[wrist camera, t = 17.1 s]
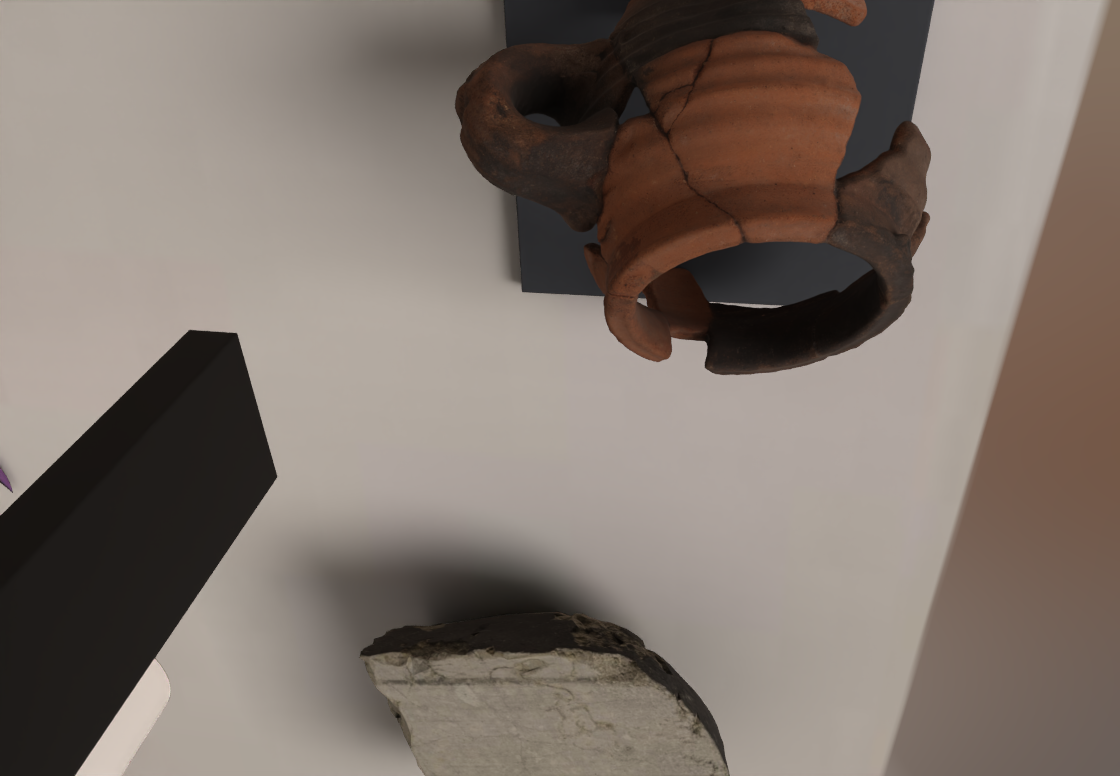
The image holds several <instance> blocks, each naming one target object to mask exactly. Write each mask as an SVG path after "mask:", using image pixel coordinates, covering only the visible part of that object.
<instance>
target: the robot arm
mask: <svg viewBox="0 0 1120 776" xmlns="http://www.w3.org/2000/svg"><path fill="white" fill-rule="evenodd" d="M276 478H277V474H276V470H275V467H274V463H273V460H272V456H271V453H270V449H269V445H268V442H267V438H266V435H265V431H264V428H263V424H262V420H261V417H260V413H259V410H258V406H257V403H256V399H255V396H254V392H253V388H252V385H251V381H250V378H249V374H248V371H247V367H246V363H245V360H244V356H243V353H242V349H241V346H240V342H239V339H238V335H237V333H226V332H211V331H197V330H189V331H188V332H187V333H186V334H185V335H184V336H183V337H182V338H181V339H180V340H179V341H178V342H177V343H176V344H175V345H174V346H173V347H172V348H171V349H170V350H169V351H168V352H166V353H165V354H164V355H163V356H162V357H161V358H160V359H159V360H158V361H157V362H156V363H155V364H154V365H153V366H152V367H151V368H150V369H149V370H148V371H147V372H146V373H145V374H144V375H143V376H142V377H141V378H140V379H139V380H138V381H137V382H136V383H135V384H134V385H133V386H132V387H131V388H130V389H129V390H128V391H127V392H126V393H125V394H124V395H123V396H122V397H121V398H120V399H119V400H118V401H117V402H116V403H115V404H114V405H113V406H112V407H111V408H110V409H109V410H107V411H106V412H105V413H104V414H103V415H102V416H101V417H100V418H99V419H98V420H97V421H96V422H95V423H94V424H93V425H92V426H91V427H90V428H89V429H88V430H87V431H86V432H85V433H84V434H83V435H82V436H81V437H80V438H79V439H78V440H77V441H76V442H75V443H74V444H73V445H72V446H71V447H70V448H69V449H68V450H67V451H66V452H65V453H64V454H63V455H62V456H61V457H60V458H59V459H58V460H57V461H56V462H55V463H54V464H53V465H52V466H51V467H50V468H48V469H47V470H46V471H45V472H44V473H43V474H42V475H41V476H40V477H39V478H38V479H37V480H36V481H35V482H34V483H33V484H32V485H31V486H30V487H29V488H28V489H27V490H26V491H25V492H24V493H23V494H22V495H21V496H20V497H19V498H18V499H17V500H16V501H15V502H14V503H13V504H12V505H11V506H10V507H9V508H8V509H7V510H6V511H5V512H4V513H3V514H2V515H1V516H0V776H75V775H76V774H77V772H78V771H79V769H80V768H81V766H82V765H83V763H84V762H85V760H86V759H87V757H88V756H89V754H90V753H91V751H92V750H93V748H94V747H95V746H96V744H97V743H98V741H99V740H100V738H101V737H102V735H103V734H104V732H105V731H106V729H107V728H108V726H109V725H110V723H111V722H112V720H113V719H114V717H115V716H116V715H117V713H118V712H119V710H120V709H121V707H122V706H123V704H124V703H125V701H126V700H127V698H128V697H129V695H130V694H131V692H132V691H133V689H134V688H135V686H136V685H137V683H138V682H139V681H140V679H141V678H142V676H143V675H144V673H145V672H146V670H147V669H148V667H149V666H150V664H151V663H152V661H153V660H154V658H155V657H156V655H157V654H158V652H159V651H160V650H161V648H162V647H163V645H164V644H165V642H166V641H167V639H168V638H169V636H170V635H171V633H172V632H173V630H174V629H175V627H176V626H177V624H178V623H179V621H180V620H181V619H182V617H183V616H184V614H185V613H186V611H187V610H188V608H189V607H190V605H191V604H192V602H193V601H194V599H195V598H196V596H197V595H198V593H199V592H200V590H201V589H202V588H203V586H204V585H205V583H206V582H207V580H208V579H209V577H210V576H211V574H212V573H213V571H214V570H215V568H216V567H217V565H218V564H219V562H220V561H221V559H222V558H223V557H224V555H225V554H226V552H227V551H228V549H229V548H230V546H231V545H232V543H233V542H234V540H235V539H236V537H237V536H238V534H239V533H240V531H241V530H242V528H243V527H244V526H245V524H246V523H247V521H248V520H249V518H250V517H251V515H252V514H253V512H254V511H255V509H256V508H257V506H258V505H259V503H260V502H261V500H262V499H263V497H264V496H265V494H266V493H267V492H268V490H269V489H270V487H271V486H272V484H273V483H274V481H275V480H276Z"/></svg>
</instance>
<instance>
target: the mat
mask: <svg viewBox="0 0 1120 776" xmlns="http://www.w3.org/2000/svg"><path fill="white" fill-rule="evenodd" d="M630 1H631V0H504V12H505V28H506V44H507V48H509V47H511V46H515V45H521V44H531V43H547V44H567V45H571V44H583V43H588V42H592V41H594V40H596V39H600V38H604V39H608V38H609V36H610V34H611V33H612V32H613V31H614V29H615V27H616V25H617V23H618V22H619V21H620V19H621V18H622V16H623V14H624V13H625V10H626V7H627V5H628V3H629V2H630ZM864 1H865V4H866V8H867V14H866V17H865V18H864V20H863V21H862V22H861V23H860V24H859V25H858V26H849V25H847V24H845V23H844V22H841V21H839V20H837V19H834V18H832V17H830V16H828V15H826V14H822V13H819V12H817V11H814V10H808V9H805V10H806V14H807V16H808V17H810V19H811V21H812V23H813V25H814V28H815V31H816V34H817V36H818V38H819V44H818V47H817V51H818V52H819V53H821V54H824V55H827V56H829V57H831V58H833V59H836V60H838V61H840V62H842V63H844V64H845V65H846V66H847V68H848V70H849V72H850V73H851V74H852V76H853V78H854V81H855V84H856V88H857V90H858V91H859V93H860V94H861V103H860V107H859V111H858V114H857V116H856V119H855V123H854V127H853V130H852V133H851V136H850V138H849V140H848V142H847V145H846V153H845V156H844V159H843V161H842V163H841V165H840V167H839V168H838V170H837V174H836V179H838V178H840V177H843V176H845V175H847V174H849V173H852V172H855V171H858V170H860V169H861V168H863V167H864V166H866V165H867V164H869V163H870V162H872V161H873V160H875V159H876V158H877V157H878V156H879V155H880V154H881V153H882V152H885V151H888V150H889V149H890V144H891V141H892V138H893V134H894V132H895V130H896V128H897V127H898V126H899V125H900V124H901V123H902V122H904V121H910V122H911V120H912V115H913V110H914V104H915V99H916V94H917V89H918V84H919V78H920V73H921V68H922V63H923V58H924V52H925V47H926V42H927V37H928V32H929V26H930V21H931V16H932V11H933V5H934V0H864ZM647 113H649V108H648V107H647V106H646V102H645V100H644V97H643V95H642V94H641V91H640V89H639V88H637V87H635V88H634V90H633V92H632V94H631V96H630V98H629V100H628V103H627V105H626V108H625V110H624V112H623V113H622V115H621V117H620V118H619V124H620V125H621V124H623V123H624V122H625V121H626V120H628V119H629V118H632V117H636V116H640V115H645V114H647ZM524 117H525V118H527V119H529V120H532V121H533V122H536V123H540V124H544V125H549V126H560V125H559V124H558V123H557V122H556V121H555V120H554V119H553V118H551V117H548V116H546V115H543V114H530V115H527V116H524ZM516 204H517V219H518V235H519V251H520V267H521V283H522V292H532V293H551V294H570V295H590V296H605V295H604V294H603V292H602V291H601V290H600V288H599V287H598V285H597V283H596V281H595V279H594V277H593V275H592V274H591V272H590V269H589V267H588V264H587V261H586V259H585V255H584V246H585V245H586V244H588V243H597V244H599V245H601V244H600V242H598V238H597V233H598V228H597V224H595V226H594V227H593V228H592V229H591V230H589V231H587V232H577V231H574V230H572V229H571V228H570V227H569V226H568V225H567V223H566V222H565V221H564V219H563V218H562V216H561V215H560V214H558V213H557V212H556V211H554V210H552V209H550V208H548V207H545V206H543V205H541V204H538V203H536V202H533V201H530V200H528V199H525V198H522V197H519V196H516ZM674 268H682V269H686V270H688V271H689V272H690V273H691V274H692V275H693V276H694V278H695V280H696V282H697V283H698V285H699V286H700V288H701V289H702V292H703V294H704V296H705V298H706V299H707V301H708V302H725V303H745V304H764V305H783V306H786V305H790V304H794V303H797V302H800V301H803V300H806V299H809V298H811V297H814V296H816V295H819V294H822V293H825V292H828V291H832V290H837V291H839V292H842V291H843V290H845V289H846V288H847V287H848V286H849V285H850V284H852V283H853V282H855V281H856V280H857V279H859V278H860V277H861V276H862V275H864V274H866V273H867V272H868V271H870V270H872V269H873V268H872V267H871V265H870V264H869V263H867V262H866V261H865V260H863V259H862V258H860V257H858V256H856V255H854V254H851V253H849V252H846V251H843V250H841V249H838V248H836V247H833V246H831V245H830V244H827V243H819V244H813V243H806V242H763V243H749V242H743V243H741V244H739V245H737V246H733V247H729V248H725V249H721V250H716V251H712V252H708V253H706V254H704V255H701V256H698V257H695V258H693V259H690V260H688V261H686V262H683V263H681V264H679V265H677V266H676V267H674ZM638 298H646V297H645V295H644V294H643V292H642V291H641V292H640V293H639V296H638Z"/></svg>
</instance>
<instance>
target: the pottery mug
mask: <svg viewBox="0 0 1120 776" xmlns="http://www.w3.org/2000/svg"><path fill="white" fill-rule="evenodd" d="M805 9H808V10H814V11H817V12H819V13H822V14H826V15H828V16H830V17H832V18H834V19H837V20H839V21H841V22H844V23H845V24H847V25H849V26H858V25H859V24H860V23H861V22H862V21H863V20H864V18H865V17H866V14H867V8H866V4H865V1H864V0H631V1H630V2H629V3H628V5H627V7H626V10H625V13H624V14H623V16H622V18H621V19H620V21H619V22H618V23H617V25H616V27H615V29H614V31H613V32H612V33H611V34H610V36H609V38H608V39H604V38H600V39H596V40H594V41H592V42H588V43H583V44H571V45H567V44H547V43H531V44H521V45H515V46H511V47H509V48H506V49H503V50H501V51H499V52H497V53H496V54H494V55H492V56H491V57H490V58H489V59H488V60H487V61H485V62H483V63H482V64H481V65H480V66H479V67H478V68H477V69H475V70H474V71H472V72H471V74H470V75H469V76H468V77H467V79H466V82H465V83H464V84H463V85H462V86H461V87H460V88H459V89H458V91H457V96H456V101H455V109H456V113H457V115H458V117H459V119H460V122H461V125H462V129H461V133H460V140H461V143H462V146H463V148H464V150H465V151H466V153H467V156H468V158H469V159H470V161H471V162H472V164H473V165H474V167H475V168H476V169H477V171H478V172H479V173H480V174H481V175H482V176H483V177H484V178H485V179H487V180H488V181H489V182H490V183H492V184H493V185H495V186H496V187H498V188H500V189H502V190H504V191H506V192H508V193H510V194H512V195H515V196H519V197H522V198H525V199H528V200H530V201H533V202H536V203H538V204H541V205H543V206H545V207H548V208H550V209H552V210H554V211H556V212H557V213H558V214H560V215H561V216H562V218H563V219H564V221H565V222H566V223H567V225H568V226H569V227H570V228H571V229H572V230H574V231H577V232H587V231H589V230H591V229H592V228H593V227H594V226H595V224H597V228H598V233H597V238H598V242H600V244H601V245H599V244H597V243H588V244H586V245H585V246H584V255H585V259H586V261H587V264H588V267H589V269H590V272H591V274H592V275H593V277H594V279H595V281H596V283H597V285H598V287H599V288H600V290H601V291H602V292H603V294H604V295H605V297H604V314H605V319H606V322H607V325H608V327H609V330H610V332H611V333H612V334H613V335H614V336H615V337H616V338H617V340H618V341H619V342H620V343H622V344H623V345H624V346H625V347H626V348H628V349H629V350H631V351H633V352H634V353H636V354H637V355H640V356H641V357H643V358H646V359H648V360H652V361H656V362H660V361H662V360H665V359H668V358H669V357H670V355H671V352H672V345H671V337H673V338H678V339H685V340H696V341H705V342H706V343H707V346H708V349H707V357H706V361H705V368H706V369H707V370H709V371H711V372H712V373H714V374H720V375H730V374H734V375H740V374H755V373H769V372H776V371H780V370H786V369H792V368H796V367H801V366H805V365H809V364H812V363H814V362H817V361H821V360H824V359H826V358H827V357H828V356H833V355H837V354H840V353H843V352H845V351H848V350H850V349H853V348H857V347H858V346H860V345H861V344H863V343H864V342H865V341H867V340H868V339H870V338H873V337H875V336H876V335H878V334H880V333H882V332H883V331H884V330H885V329H886V328H888V327H889V326H890V325H891V324H892V323H893V322H894V321H896V320H897V319H898V318H899V317H900V316H901V314H902V313H903V312H904V309H905V308H906V307H907V306H908V304H909V303H910V302H911V294H912V291H913V274H914V268H913V266H912V263H911V260H912V257H913V256H914V254H915V253H916V251H917V249H918V247H919V245H920V243H921V241H922V240H923V238H924V236H925V233H926V226H927V224H928V222H929V220H930V216H929V214H928V213H927V212H924V211H923V210H924V207H925V205H926V201H927V188H926V173H927V170H928V167H929V164H930V160H931V152H930V148H929V146H928V144H927V143H926V141H925V139H924V138H923V136H922V134H921V132H920V131H919V129H918V127H917V126H916V125H915V124H913V123H912V122H910V121H904V122H902V123H901V124H900V125H899V126H898V127H897V128H896V130H895V132H894V134H893V138H892V141H891V144H890V149H889V150H888V151H885V152H882V153H881V154H880V155H879V156H878V157H877V158H876V159H875V160H873V161H872V162H870V163H869V164H867V165H866V166H864V167H863V168H861V169H860V170H858V171H855V172H852V173H849V174H847V175H845V176H843V177H840V178H838V179H836V174H837V170H838V168H839V167H840V165H841V163H842V161H843V159H844V156H845V153H846V145H847V142H848V140H849V138H850V136H851V133H852V130H853V127H854V123H855V119H856V116H857V114H858V111H859V107H860V103H861V94H860V93H859V91H858V90H857V88H856V84H855V81H854V78H853V76H852V74H851V73H850V72H849V70H848V68H847V66H846V65H845V64H844V63H842V62H840V61H838V60H836V59H833V58H831V57H829V56H827V55H824V54H821V53H819V52H818V51H817V47H818V44H819V38H818V36H817V34H816V31H815V28H814V25H813V23H812V21H811V19H810V17H808V16H807V14H806V10H805ZM635 87H637V88H639V89H640V91H641V94H642V95H643V97H644V100H645V102H646V106H647V107H648V108H649V113H647V114H645V115H640V116H636V117H632V118H629V119H628V120H626V121H625V122H624V123H623V124H621V125H620V124H619V118H620V117H621V115H622V113H623V112H624V110H625V108H626V105H627V103H628V100H629V98H630V96H631V94H632V92H633V90H634V88H635ZM530 114H543V115H546V116H548V117H551V118H553V119H554V120H555V121H556V122H557V123H558V124H559V125H560V126H549V125H544V124H540V123H536V122H533V121H532V120H529V119H527V118H525V117H524V116H527V115H530ZM743 242H749V243H763V242H806V243H813V244H819V243H827V244H830V245H831V246H833V247H836V248H838V249H841V250H843V251H846V252H849V253H851V254H854V255H856V256H858V257H860V258H862V259H863V260H865V261H866V262H867V263H869V264H870V265H871V267H872V268H873V269H872V270H870V271H868V272H867V273H866V274H864V275H862V276H861V277H860V278H859V279H857V280H856V281H855V282H853V283H852V284H850V285H849V286H848V287H847V288H846V289H845V290H843V291H842V292H839V291H837V290H832V291H828V292H825V293H822V294H819V295H816V296H814V297H811V298H809V299H806V300H803V301H800V302H797V303H794V304H790V305H786V306H782V307H778V308H751V307H742V306H736V305H724V304H720V303H709V302H708V301H707V299H706V298H705V296H704V294H703V292H702V289H701V288H700V286H699V285H698V283H697V282H696V280H695V278H694V276H693V275H692V274H691V273H690V272H689V271H688V270H686V269H682V268H674V267H676V266H677V265H679V264H681V263H683V262H686V261H688V260H690V259H693V258H695V257H698V256H701V255H704V254H706V253H708V252H712V251H716V250H721V249H725V248H729V247H733V246H737V245H739V244H741V243H743ZM641 291H642V292H643V294H644V295H645V297H646V299H647V306H648V307H647V306H644V305H642V304H641V303H639V302H637V299H638V296H639V293H640V292H641Z"/></svg>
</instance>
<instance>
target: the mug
mask: <svg viewBox="0 0 1120 776" xmlns="http://www.w3.org/2000/svg"><path fill="white" fill-rule="evenodd" d="M170 694H171V688H170V683H169V680H168V677H167V675H166V673H165V671H164V670H163V668H162V667H161V665H160V664H159V663H158V661H157V660H156V659H155V658H154V660H153V661H152V663H151V664H150V666H149V667H148V669H147V670H146V672H145V673H144V675H143V676H142V678H141V679H140V681H139V682H138V683H137V685H136V686H135V688H134V689H133V691H132V692H131V694H130V695H129V697H128V698H127V700H126V701H125V703H124V704H123V706H122V707H121V709H120V710H119V712H118V713H117V715H116V716H115V717H114V719H113V720H112V722H111V723H110V725H109V726H108V728H107V729H106V731H105V732H104V734H103V735H102V737H101V738H100V740H99V741H98V743H97V744H96V746H95V747H94V748H93V750H92V751H91V753H90V754H89V756H88V757H87V759H86V760H85V762H84V763H83V765H82V766H81V768H80V769H79V771H78V772H77V774H76V775H75V776H122V774H123V773H124V771H125V770H126V768H127V766H128V765H129V763H130V762H131V760H132V758H133V757H134V755H135V754H136V752H137V751H138V749H139V747H140V746H141V744H142V743H143V741H144V739H145V738H146V736H147V735H148V733H149V731H150V730H151V728H152V727H153V725H154V723H155V722H156V720H157V719H158V717H159V716H160V714H161V712H162V711H163V709H164V708H165V706H166V704H167V703H168V701H169V698H170Z"/></svg>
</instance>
